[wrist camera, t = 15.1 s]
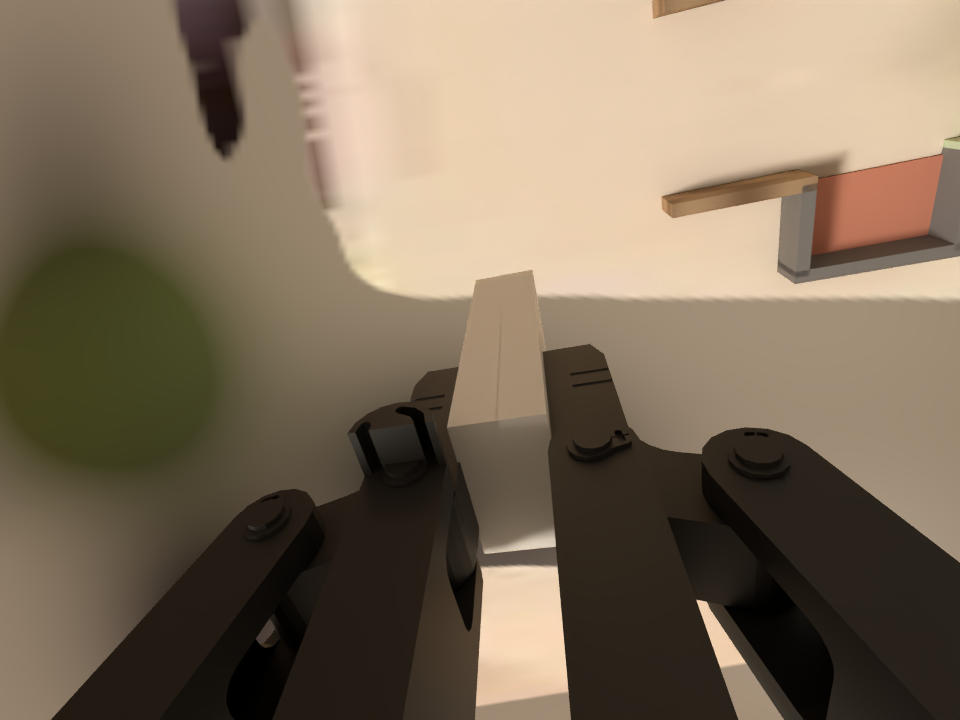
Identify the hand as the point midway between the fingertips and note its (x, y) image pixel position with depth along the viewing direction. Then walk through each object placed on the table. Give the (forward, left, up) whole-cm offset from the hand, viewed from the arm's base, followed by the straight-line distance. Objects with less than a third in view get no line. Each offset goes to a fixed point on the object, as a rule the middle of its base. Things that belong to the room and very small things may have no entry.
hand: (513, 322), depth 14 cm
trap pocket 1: (-3, +27, -29) cm, 40 cm away
